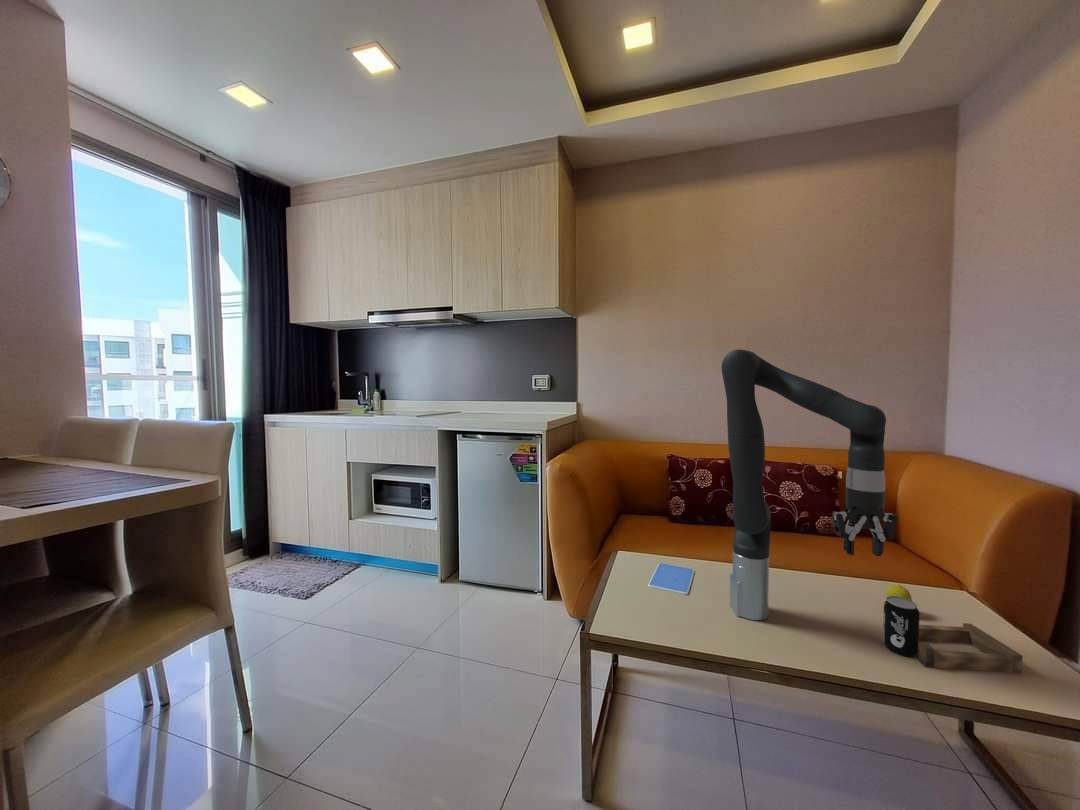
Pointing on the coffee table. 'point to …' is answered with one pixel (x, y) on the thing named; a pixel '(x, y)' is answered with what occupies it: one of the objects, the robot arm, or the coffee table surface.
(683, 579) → the tablet computer
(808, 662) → the coffee table surface
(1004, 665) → the cradle
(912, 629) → the beverage can
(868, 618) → the coffee table surface
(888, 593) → the lemon
